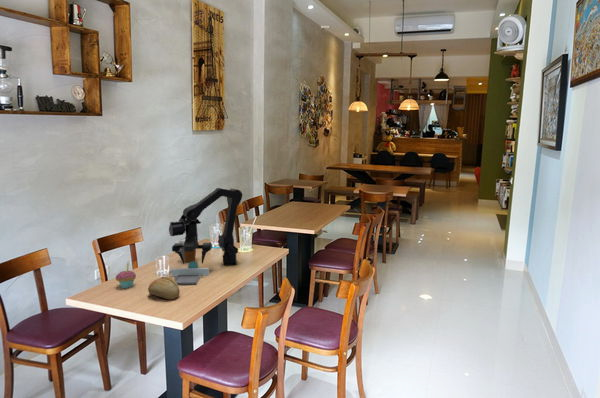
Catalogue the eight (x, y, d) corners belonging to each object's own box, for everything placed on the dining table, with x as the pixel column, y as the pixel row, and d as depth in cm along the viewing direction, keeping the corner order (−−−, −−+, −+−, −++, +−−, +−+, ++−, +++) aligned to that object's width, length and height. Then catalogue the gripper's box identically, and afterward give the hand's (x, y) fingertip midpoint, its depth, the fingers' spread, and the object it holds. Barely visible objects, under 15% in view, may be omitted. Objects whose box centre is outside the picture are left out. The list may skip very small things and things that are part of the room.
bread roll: (158, 290, 199) (157, 272, 198) (185, 295, 193) (184, 277, 192) (143, 297, 191) (141, 279, 189) (170, 303, 184) (169, 284, 183)
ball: (199, 269, 227) (198, 259, 226) (197, 272, 222) (196, 262, 221) (189, 269, 227) (189, 260, 226) (187, 272, 222) (186, 263, 221)
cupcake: (140, 284, 207) (138, 259, 205) (127, 290, 199) (125, 264, 197) (125, 282, 210) (123, 257, 208) (112, 288, 202) (110, 262, 200)
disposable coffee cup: (195, 263, 236) (194, 241, 234) (177, 263, 236) (176, 241, 234) (200, 258, 246) (198, 237, 244) (182, 258, 246) (181, 237, 244)
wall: (209, 274, 218) (208, 267, 218) (208, 275, 217) (208, 268, 216) (172, 275, 218) (171, 268, 217) (171, 276, 217) (170, 269, 216)
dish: (200, 276, 216) (200, 274, 215) (195, 284, 205) (195, 282, 204) (177, 277, 215) (177, 274, 215) (171, 285, 205) (171, 282, 204)
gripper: (167, 237, 213) (170, 269, 216) (207, 236, 213) (208, 268, 216) (174, 232, 224) (176, 262, 227) (211, 231, 224) (213, 261, 227)
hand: (193, 263), depth 224 cm, fingers open, 9 cm apart
